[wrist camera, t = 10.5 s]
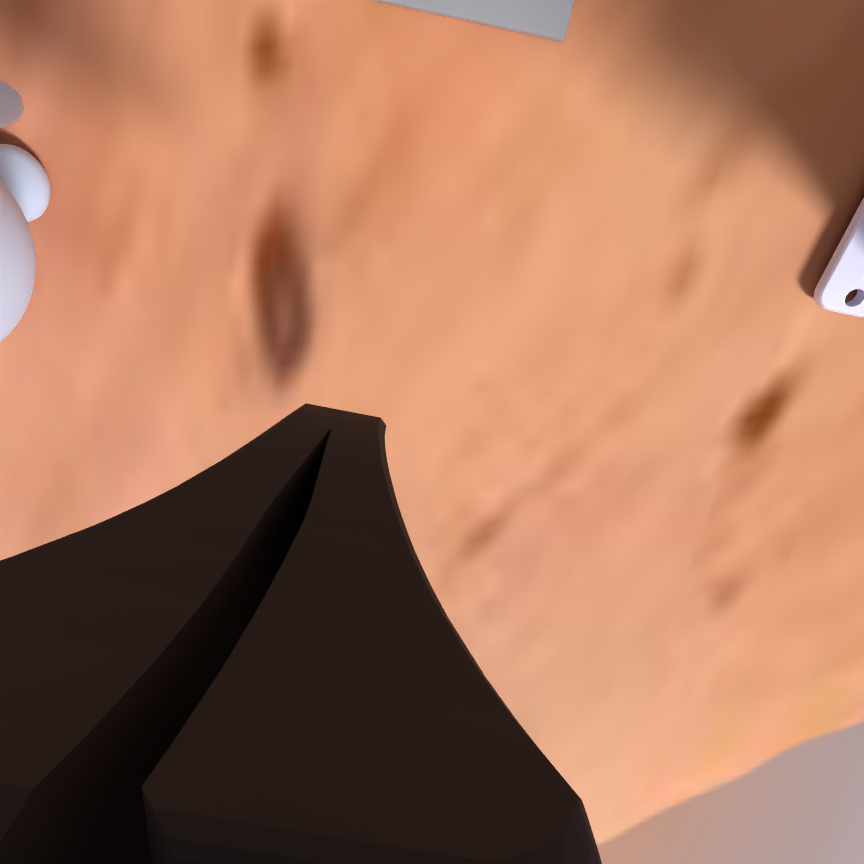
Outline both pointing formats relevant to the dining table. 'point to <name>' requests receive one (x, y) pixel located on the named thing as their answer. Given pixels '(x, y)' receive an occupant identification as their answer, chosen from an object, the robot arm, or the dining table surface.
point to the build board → (502, 14)
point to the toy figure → (17, 216)
